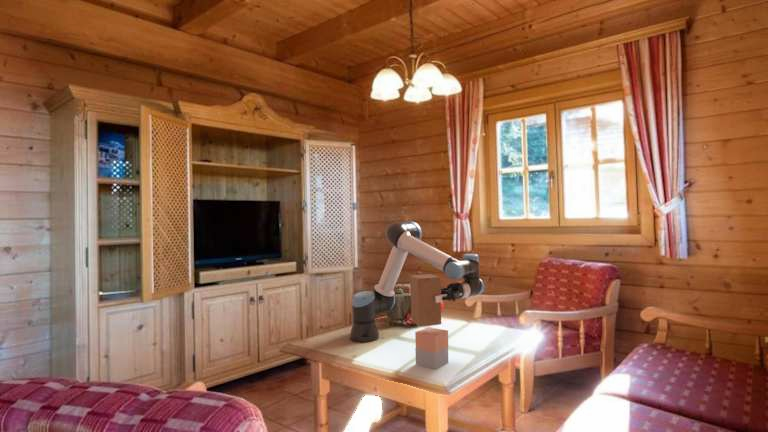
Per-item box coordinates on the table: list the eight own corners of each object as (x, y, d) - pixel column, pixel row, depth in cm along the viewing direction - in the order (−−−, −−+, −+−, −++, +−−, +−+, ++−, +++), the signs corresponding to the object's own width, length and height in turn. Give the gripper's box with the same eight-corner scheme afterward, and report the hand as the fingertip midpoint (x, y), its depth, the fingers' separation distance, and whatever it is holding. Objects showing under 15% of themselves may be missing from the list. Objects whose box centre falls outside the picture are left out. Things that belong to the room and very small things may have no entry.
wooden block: (441, 324, 186) (440, 276, 186) (419, 327, 183) (417, 278, 183) (432, 319, 196) (431, 273, 195) (411, 321, 193) (409, 275, 193)
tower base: (415, 364, 191) (415, 348, 191) (429, 358, 198) (428, 342, 198) (435, 369, 184) (435, 352, 184) (448, 362, 192) (448, 346, 192)
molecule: (431, 316, 273) (436, 293, 271) (443, 324, 265) (449, 300, 262) (398, 320, 259) (403, 295, 256) (410, 329, 250) (415, 303, 247)
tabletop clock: (405, 320, 268) (403, 278, 267) (414, 323, 260) (413, 280, 260) (385, 324, 259) (384, 281, 259) (394, 327, 252) (393, 283, 252)
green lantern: (394, 319, 271) (393, 286, 271) (397, 315, 281) (396, 283, 281) (410, 319, 269) (409, 286, 269) (413, 315, 279) (412, 283, 279)
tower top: (415, 348, 191) (415, 332, 191) (428, 342, 198) (428, 327, 198) (435, 352, 184) (435, 335, 184) (448, 346, 192) (447, 330, 192)
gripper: (480, 302, 193) (446, 310, 179) (438, 295, 212) (405, 302, 198) (479, 285, 193) (446, 292, 179) (437, 279, 212) (404, 285, 198)
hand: (424, 297), depth 189 cm, fingers closed on wooden block, 12 cm apart
